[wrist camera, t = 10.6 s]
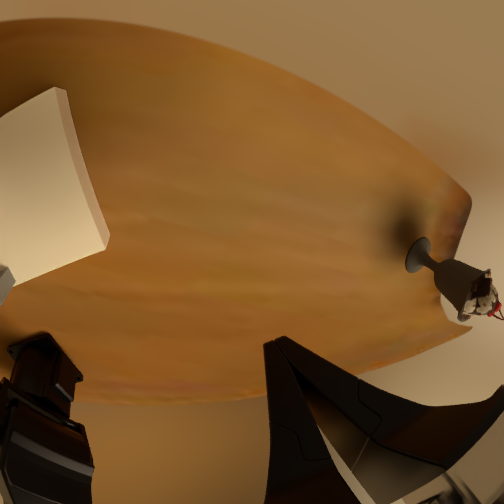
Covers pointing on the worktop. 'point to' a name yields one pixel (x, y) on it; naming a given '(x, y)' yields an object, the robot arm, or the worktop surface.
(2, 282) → the lane walls
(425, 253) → the sundae
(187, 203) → the worktop surface
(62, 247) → the deck
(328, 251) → the worktop surface
